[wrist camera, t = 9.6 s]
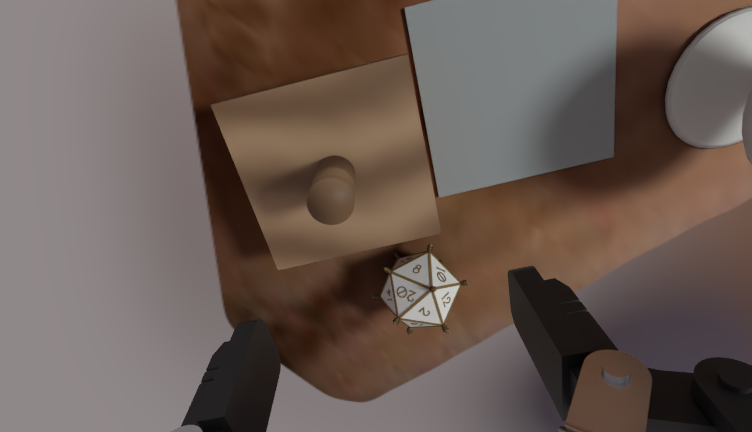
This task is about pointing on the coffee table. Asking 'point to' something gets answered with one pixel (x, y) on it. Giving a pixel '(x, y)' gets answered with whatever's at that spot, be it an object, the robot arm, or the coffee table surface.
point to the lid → (333, 162)
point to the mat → (514, 86)
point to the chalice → (714, 86)
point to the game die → (420, 290)
